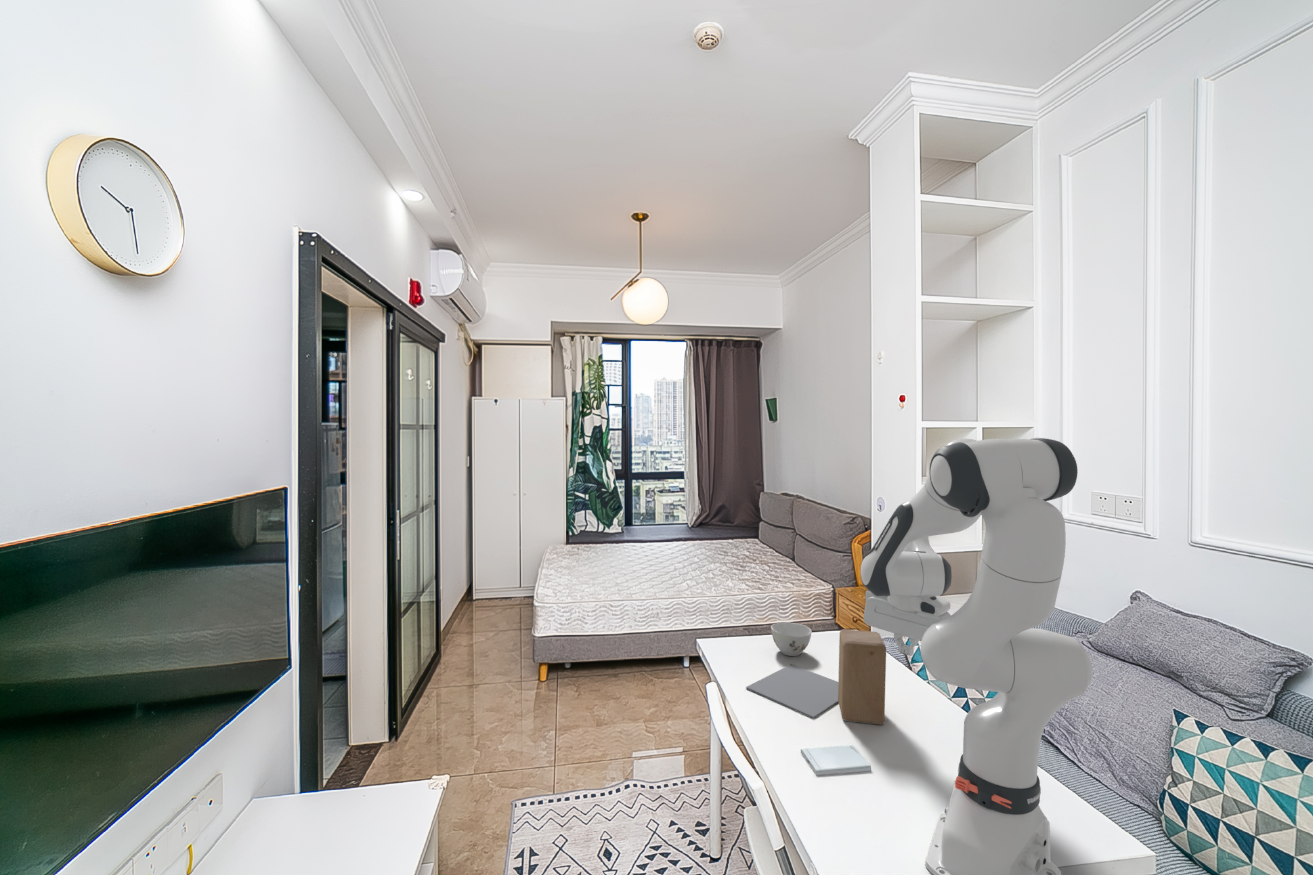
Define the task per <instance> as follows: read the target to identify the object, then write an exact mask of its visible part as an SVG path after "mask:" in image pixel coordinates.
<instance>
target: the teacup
mask: <svg viewBox="0 0 1313 875" xmlns="http://www.w3.org/2000/svg"><path fill="white" fill-rule="evenodd" d="M770 628H771V634H772V639H773V642H774V644H775V645H776V647H777V649H779V651H780V652H781V653H782V654H783V655H785V656H788V657H789V656H790V657H798V656H800V654H801V653H803V652H804V651H805V650H806V649H807V647H808V645H809V643H810V640H811V637H812V629H811V628H810V627H808V626H807V625H804V624H801V623H794V622H790V621H782V622H776V623H773V624H772V625H771V627H770Z"/></svg>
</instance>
